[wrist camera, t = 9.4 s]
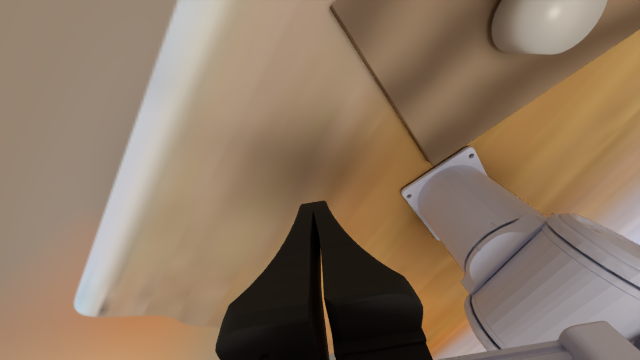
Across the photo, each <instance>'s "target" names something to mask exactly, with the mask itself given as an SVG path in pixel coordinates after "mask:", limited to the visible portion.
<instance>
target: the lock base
mask: <svg viewBox="0 0 640 360" xmlns="http://www.w3.org/2000/svg"><path fill="white" fill-rule="evenodd" d="M501 1H502V0H337V1H336V2H335V3H333V4H332V6H331V7H330V9H331V11H332V12H333V14H334V15H335V17H336V18H337V20H338V22H339V23H340V25H341V26H342V28H343V29H344V31H345V33H346V34H347V36H348V37H349V39H350V40H351V42H352V43H353V45H354V47H355V48H356V50H357V51H358V53H359V54H360V56H361V58H362V59H363V61H364V62H365V64H366V65H367V67H368V68H369V70H370V72H371V73H372V75H373V76H374V78H375V79H376V81H377V83H378V84H379V86H380V87H381V89H382V90H383V92H384V93H385V95H386V97H387V98H388V100H389V101H390V103H391V104H392V106H393V108H394V109H395V111H396V112H397V114H398V115H399V117H400V118H401V120H402V122H403V123H404V125H405V126H406V128H407V129H408V131H409V133H410V134H411V136H412V137H413V139H414V140H415V142H416V143H417V145H418V147H419V148H420V150H421V151H422V153H423V154H424V156H425V158H426V159H427V161H428V162H429V163H431V164H432V165H433V166H435V165H436V164H438V163H439V162H441V161H442V160H444V159H445V158H447V157H448V156H450V155H451V154H453V153H454V152H456V151H457V150H459V149H460V148H462V147H463V146H465V145H466V144H468V143H469V142H471V141H472V140H474V139H475V138H477V137H478V136H480V135H481V134H483V133H484V132H486V131H487V130H489V129H490V128H492V127H493V126H495V125H496V124H498V123H499V122H501V121H502V120H504V119H505V118H507V117H508V116H510V115H511V114H513V113H515V112H516V111H518V110H519V109H521V108H522V107H524V106H525V105H527V104H528V103H530V102H531V101H533V100H534V99H536V98H537V97H539V96H540V95H542V94H543V93H545V92H546V91H548V90H549V89H551V88H552V87H554V86H555V85H557V84H558V83H560V82H561V81H563V80H564V79H566V78H567V77H569V76H570V75H572V74H573V73H575V72H576V71H578V70H579V69H581V68H582V67H584V66H585V65H587V64H588V63H590V62H591V61H593V60H594V59H596V58H597V57H599V56H600V55H602V54H603V53H605V52H606V51H608V50H609V49H611V48H612V47H614V46H615V45H617V44H618V43H620V42H621V41H623V40H624V39H626V38H627V37H629V36H630V35H632V34H633V33H635V32H636V31H638V30H639V29H640V0H607V4H606V6H605V9H604V11H603V13H602V15H601V17H600V19H599V20H598V22H597V23H596V25H595V26H594V28H593V29H592V30H591V31H590V32H589V34H588V35H587V36H586V37H585V38H584V39H583V40H581V41H580V42H579V43H578V44H576V45H575V46H574V47H572V48H570V49H568V50H566V51H564V52H562V53H558V54H552V55H547V54H519V53H505V52H503V51H501V50H499V49H498V48H497V47H496V45H495V44H494V42H493V39H492V22H493V18H494V15H495V12H496V10H497V7H498V6H499V4H500V2H501Z"/></svg>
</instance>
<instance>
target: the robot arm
mask: <svg viewBox="0 0 640 360" xmlns="http://www.w3.org/2000/svg"><path fill="white" fill-rule="evenodd" d="M470 154H471V156H469V155H470ZM401 194H402V196H403V197H404V198H405V200H406V201H407V202H408V203H409V205H410V206H411V207H412V209H413V210H414V211H415V212H416V214H417V215H418V216H419V218H420V219H421V220H422V221H423V223H424V224H425V225H426V227H427V228H428V229H429V230H430V232H431V233H432V234H433V236H434V237H435V238H436V239H437V240H439V241H440V240H441V241H442V243H443V244H444V246H445V247H446V248H447V250H448V251H449V252H450V254H451V255H452V257H453V258H454V259H455V261H456V262H457V263H458V265H459V266H460V267H461V269H462V270H463V272H464V273H465V276H464V278H463V279H462V280H461V283H462V284H463V286H464V287H465V289H466V290H467V291H468V293H469V294H470V295H468V296H467V297H466V299H465V302H464V308H465V313H466V316H467V319H468V321H469V323H470V326H471V328H472V330H473V332H474V333H475V335H476V337H477V338H478V340H479V341H480V342H481V344H482V345H483V346H484V348H485V349H486V350H487V351H488V352H482V353H475V354H469V355H463V356H457V357H451V358H445V359H439V360H640V245H638V244H636V243H635V242H633V241H631V240H629V239H627V238H625V237H624V236H622V235H620V234H618V233H616V232H614V231H612V230H610V229H608V228H606V227H604V226H602V225H600V224H598V223H596V222H594V221H591V220H589V219H587V218H584V217H582V216H579V215H577V214H573V213H564V214H559V213H553V214H551V216H550V217H549V218H547V217H545V216H544V215H543V214H541V213H540V212H538V211H537V210H535V209H534V208H532V207H531V206H530V205H528V204H527V203H525V202H524V201H522V200H521V199H519V198H518V197H517V196H515V195H514V194H512V193H511V192H509V191H508V190H506V189H505V188H503V187H502V186H501V185H499V184H498V183H496V182H495V181H493V180H492V179H490V178H489V177H488V176H487V174H486V172H485V170H484V168H483V166H482V164H481V162H480V160H479V158H478V156H477V154H476V152H475V150H474V148H472V147H470V146H467V147H465V148H464V149H462V150H461V151H459V152H458V153H456V154H455V155H453V156H452V157H450V158H449V159H447V160H446V161H444V162H443V163H441V164H440V165H438V166H437V167H435V168H434V169H432V170H431V171H429V172H428V173H426V174H425V175H423V176H422V177H420V178H419V179H417V180H416V181H414V182H413V183H411V184H410V185H408V186H407V187H405V188H403V189H402V191H401ZM409 194H410V195H409ZM407 195H409V196H407ZM321 257H322V270H323V288H324V300H325V305H326V310H327V314H328V319H329V323H330V328H331V332H332V338H333V347H334V355H335V357H336V360H433V359H432V356H431V354H430V352H429V349H428V347H427V345H426V337H425V335H424V332H423V330H422V328H421V327H422V319H423V306H422V304H421V301H420V299H419V297H418V296H417V294H416V293H415V291H414V289H413V288H412V286H411V285H410V284H409V282H408V281H407V280H406V278H405V277H404V276H402V275H400V274H399V273H397V272H395V271H393V270H392V269H390V268H388V267H387V266H385V265H384V264H382V263H381V262H379V261H378V260H376V259H375V258H374V257H373V256H371V255H370V254H369V253H367V252H366V251H365V250H364V249H362V248H361V247H360V246H359V245H358V244H357V243H356V242H355V241H354V240H353V239H352V238H351V237H350V236H349V235H348V234H347V233H346V232H345V231H344V229H343V228H342V227H341V226H340V225H339V223H338V222H337V220H336V219H335V218H334V216H333V215H332V213H331V211H330V210H329V208H328V206H327V203H326V202H325V201H318V202H312V203H306V204H301V206H300V208H299V211H298V214H297V217H296V219H295V222H294V224H293V226H292V228H291V230H290V232H289V234H288V236H287V238H286V240H285V242H284V243H283V245H282V247H281V248H280V250H279V251H278V253H277V254H276V256H275V257H274V259H273V260H272V261H271V263H270V264H269V265H268V266H267V268H266V269H265V270H264V271H263V273H262V274H261V275H260V276H259V277H258V278H257V279H256V280H255V281H254V282H253V283H252V285H251V286H250V287H249V288H248V289H247V290H245V291H244V292H243V293H242V294H241V295H240V296H239V297H238V298H237V299H235V300H234V301H233V302H232V303H231V304H230V305H229V306H228V309H227V312H226V314H225V316H224V319H223V322H222V325H221V328H220V332H219V336H218V339H217V343H216V350H215V351H216V353H217V356H218V357H219V359H220V360H329V352H328V344H327V336H326V327H325V319H324V310H323V301H322V291H321Z"/></svg>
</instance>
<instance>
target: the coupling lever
mask: <svg viewBox="0 0 640 360" xmlns="http://www.w3.org/2000/svg"><path fill="white" fill-rule="evenodd" d="M606 4H607V0H502V1H501V2H500V4H499V6H498V7H497V10H496V12H495V15H494V18H493V22H492V39H493V42H494V44H495V45H496V47H497V48H498V49H499V50H501V51H503V52H505V53H519V54H547V55H552V54H558V53H562V52H564V51H566V50H568V49H570V48H572V47H574V46H575V45H576V44H578V43H579V42H580V41H581V40H583V39H584V38H585V37H586V36H587V35H588V34H589V32H590V31H591V30H592V29H593V28H594V26H595V25H596V23H597V22H598V20H599V19H600V17H601V15H602V13H603V11H604V9H605V6H606Z"/></svg>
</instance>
